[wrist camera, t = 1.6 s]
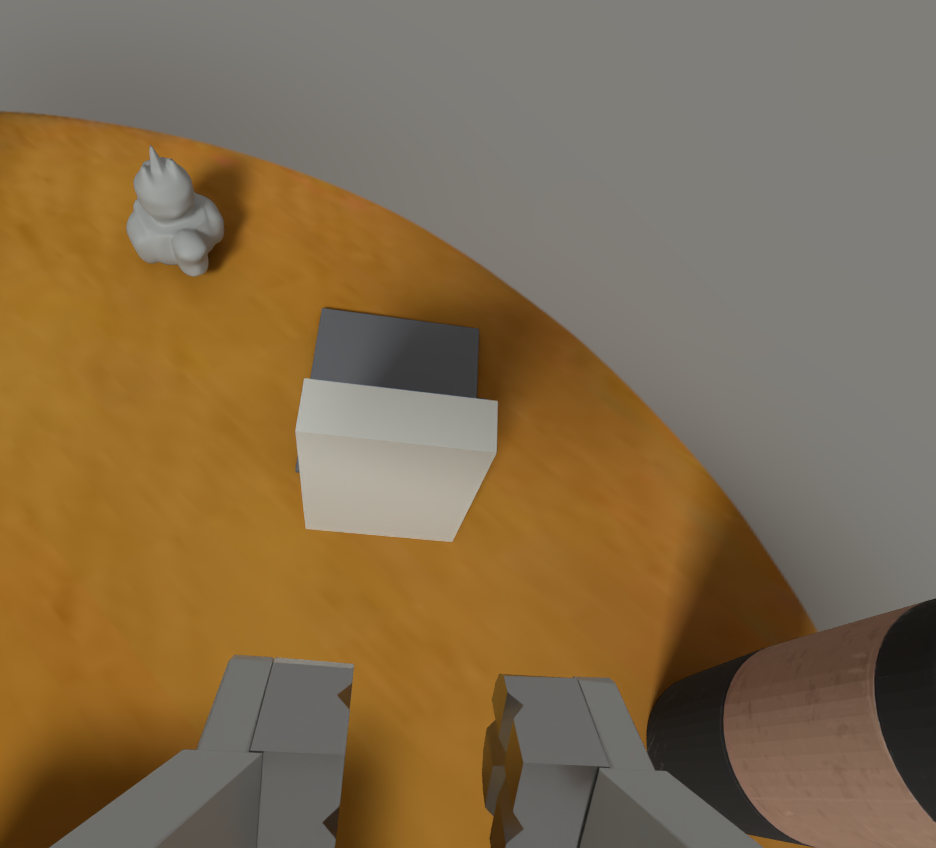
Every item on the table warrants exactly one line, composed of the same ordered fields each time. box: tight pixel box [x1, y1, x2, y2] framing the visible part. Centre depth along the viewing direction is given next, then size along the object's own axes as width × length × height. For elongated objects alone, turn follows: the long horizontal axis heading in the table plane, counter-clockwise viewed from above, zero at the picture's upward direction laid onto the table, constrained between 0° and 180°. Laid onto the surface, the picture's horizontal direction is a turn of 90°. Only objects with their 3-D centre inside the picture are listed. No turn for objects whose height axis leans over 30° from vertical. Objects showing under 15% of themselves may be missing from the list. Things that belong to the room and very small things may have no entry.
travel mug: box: [647, 599, 936, 848], centre depth 27 cm, size 8×8×20 cm
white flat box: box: [295, 378, 498, 542], centre depth 34 cm, size 8×3×12 cm, turn 88°
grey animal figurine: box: [126, 145, 224, 277], centre depth 41 cm, size 5×7×8 cm
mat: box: [295, 308, 479, 473], centre depth 42 cm, size 10×11×1 cm
